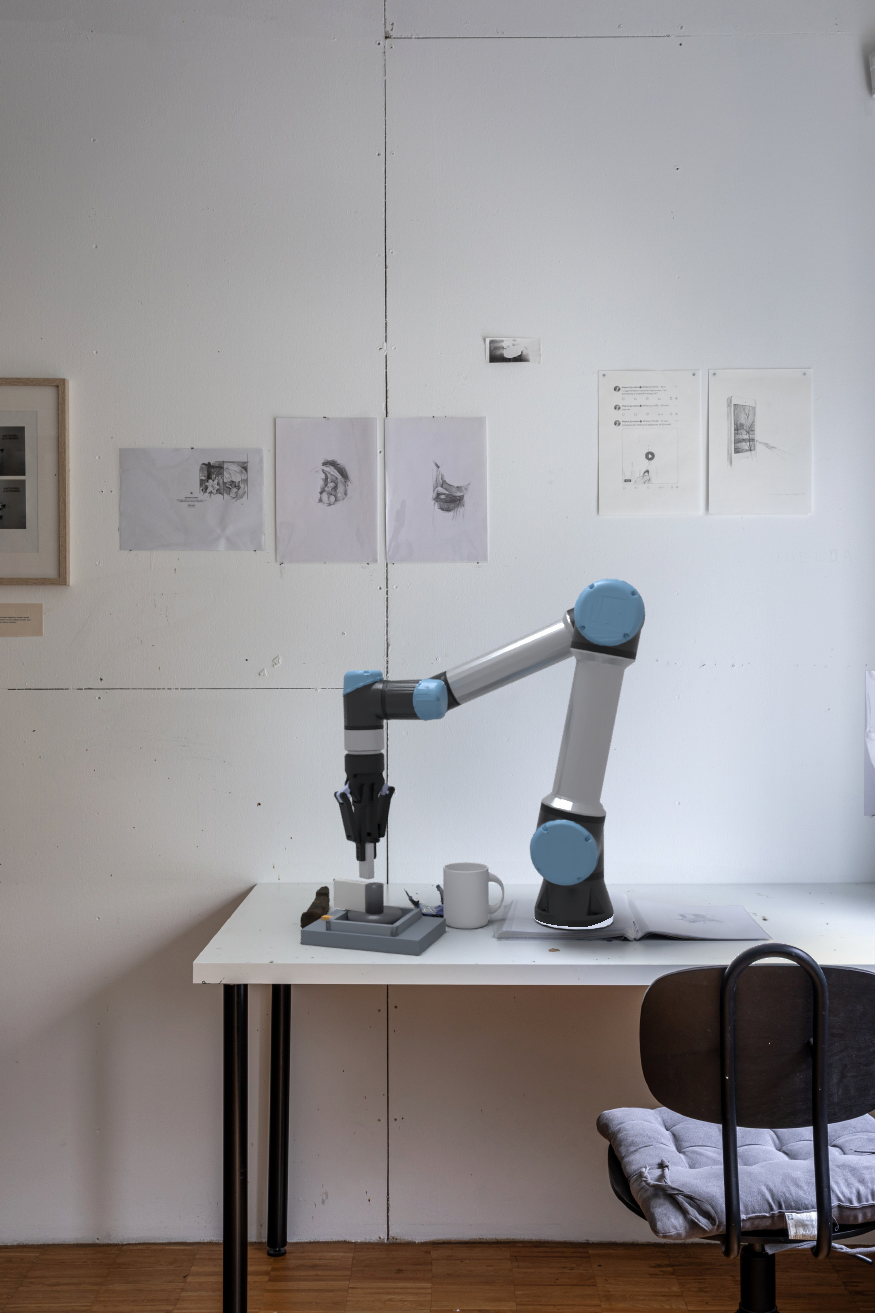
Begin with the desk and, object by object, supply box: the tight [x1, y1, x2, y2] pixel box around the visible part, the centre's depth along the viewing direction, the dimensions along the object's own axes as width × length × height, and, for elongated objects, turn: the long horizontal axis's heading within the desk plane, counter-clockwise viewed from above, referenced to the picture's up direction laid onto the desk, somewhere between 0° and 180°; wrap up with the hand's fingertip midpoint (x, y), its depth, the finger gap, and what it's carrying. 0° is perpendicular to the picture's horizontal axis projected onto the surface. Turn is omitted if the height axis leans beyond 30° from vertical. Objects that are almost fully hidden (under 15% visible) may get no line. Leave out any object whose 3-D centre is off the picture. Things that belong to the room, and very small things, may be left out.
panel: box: [300, 904, 447, 956], centre depth 168 cm, size 22×15×4 cm
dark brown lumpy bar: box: [300, 885, 331, 929], centre depth 182 cm, size 19×4×5 cm, turn 176°
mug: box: [442, 861, 505, 930], centre depth 178 cm, size 9×12×11 cm
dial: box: [333, 877, 401, 925], centre depth 169 cm, size 13×10×7 cm
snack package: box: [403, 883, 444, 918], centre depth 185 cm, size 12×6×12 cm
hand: (366, 877), depth 176 cm, fingers closed
